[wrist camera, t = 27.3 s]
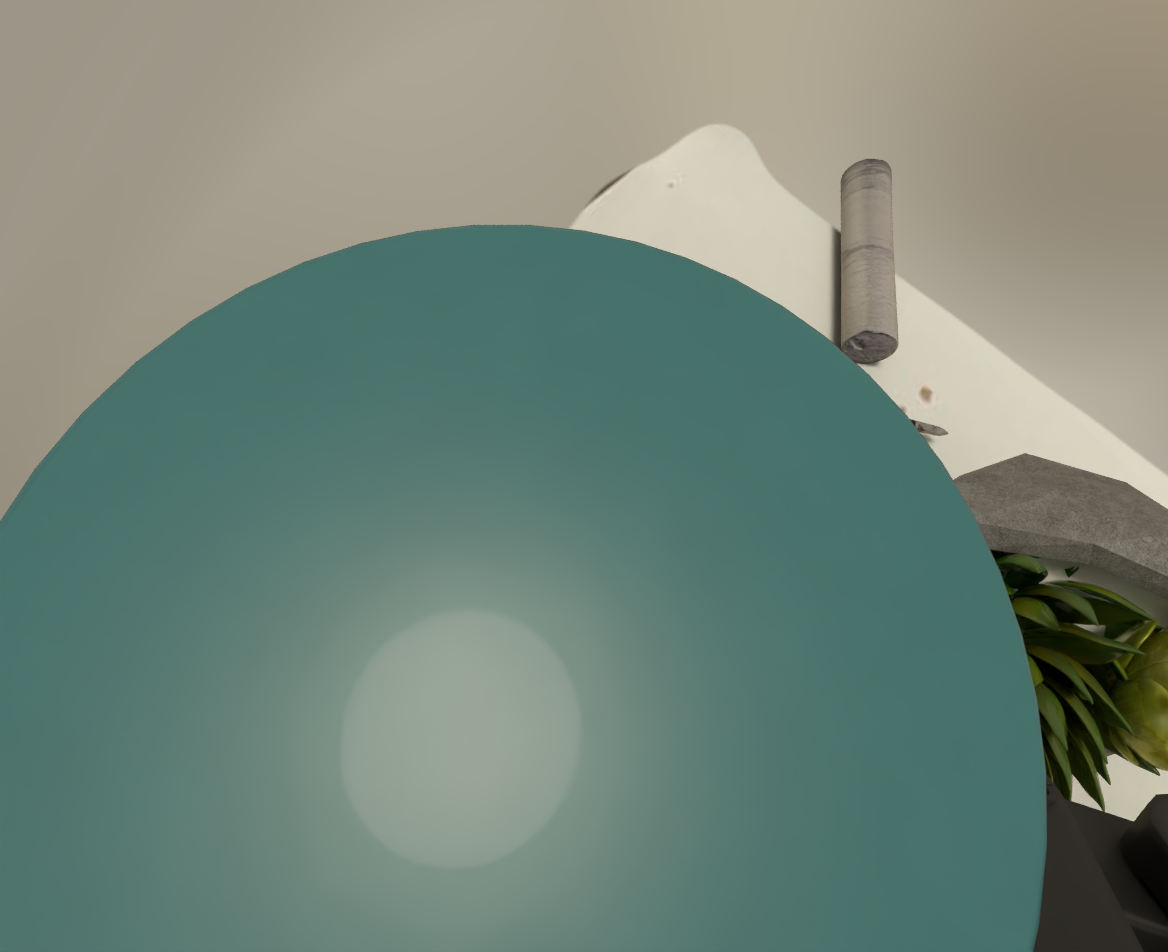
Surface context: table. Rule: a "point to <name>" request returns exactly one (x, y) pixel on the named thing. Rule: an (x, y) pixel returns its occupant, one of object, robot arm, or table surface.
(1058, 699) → the potted plant
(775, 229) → the table surface
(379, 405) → the tin
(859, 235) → the rod
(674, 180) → the table surface
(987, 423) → the table surface
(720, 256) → the table surface
